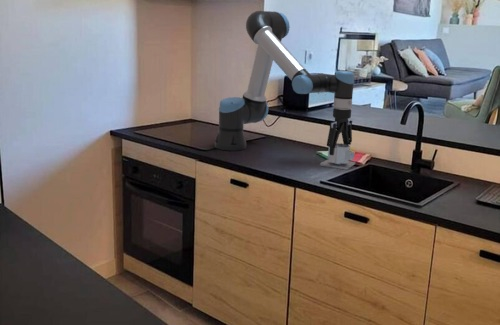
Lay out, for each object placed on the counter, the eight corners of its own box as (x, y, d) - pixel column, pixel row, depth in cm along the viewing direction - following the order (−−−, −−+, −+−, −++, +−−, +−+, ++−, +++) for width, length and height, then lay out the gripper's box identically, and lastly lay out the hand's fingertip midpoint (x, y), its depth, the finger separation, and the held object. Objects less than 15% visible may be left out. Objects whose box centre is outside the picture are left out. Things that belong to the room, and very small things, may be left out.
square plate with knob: (319, 165, 223) (321, 149, 221) (329, 159, 233) (330, 145, 232) (346, 169, 218) (348, 153, 216) (355, 163, 228) (356, 148, 226)
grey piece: (324, 160, 225) (325, 144, 223) (335, 157, 231) (336, 142, 229) (346, 165, 218) (347, 149, 216) (356, 162, 224) (358, 146, 222)
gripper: (335, 111, 209) (331, 166, 215) (363, 107, 225) (358, 158, 230) (320, 109, 214) (316, 162, 220) (348, 105, 230) (344, 155, 235)
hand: (338, 160), depth 225 cm, fingers closed on grey piece, 8 cm apart
